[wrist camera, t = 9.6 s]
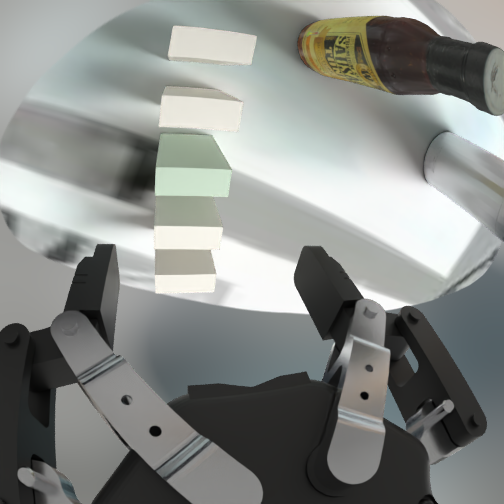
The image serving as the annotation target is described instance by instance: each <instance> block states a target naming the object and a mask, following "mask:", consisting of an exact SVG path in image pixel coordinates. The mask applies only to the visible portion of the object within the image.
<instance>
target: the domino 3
mask: <svg viewBox="0 0 504 504" xmlns="http://www.w3.org/2000/svg"><path fill="white" fill-rule="evenodd" d="M231 173H232V169H231V167H230V166H229V164H228V162H227V160H226V159H225V157H224V155H223V153H222V152H221V150H220V148H219V146H218V145H217V143H216V141H215V139H214V138H213V136H212V135H197V134H173V133H161V135H160V141H159V148H158V155H157V162H156V175H155V196H215V197H228V193H229V186H230V180H231Z"/></svg>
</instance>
